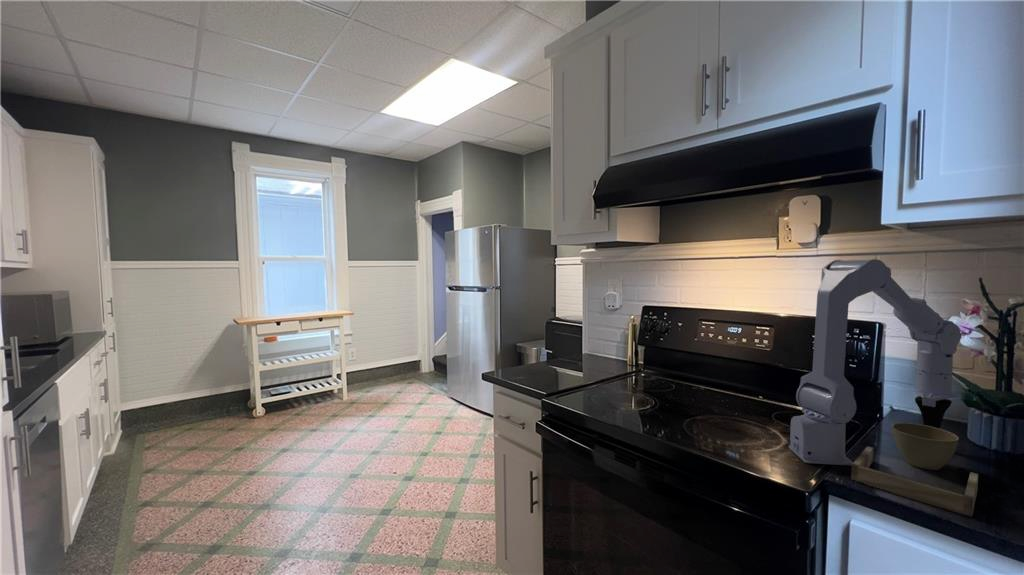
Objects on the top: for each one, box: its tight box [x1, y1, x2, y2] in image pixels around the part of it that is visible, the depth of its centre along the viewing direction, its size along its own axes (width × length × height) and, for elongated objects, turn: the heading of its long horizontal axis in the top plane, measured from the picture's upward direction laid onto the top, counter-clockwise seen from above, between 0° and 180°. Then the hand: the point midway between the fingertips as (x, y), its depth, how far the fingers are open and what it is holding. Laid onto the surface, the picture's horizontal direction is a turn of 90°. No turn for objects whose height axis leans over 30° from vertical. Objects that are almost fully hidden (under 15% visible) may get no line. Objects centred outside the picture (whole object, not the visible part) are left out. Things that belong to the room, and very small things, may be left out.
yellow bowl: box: [891, 422, 960, 471], centre depth 88 cm, size 10×10×7 cm
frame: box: [850, 446, 979, 518], centre depth 80 cm, size 13×16×3 cm
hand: (932, 430), depth 96 cm, fingers closed
